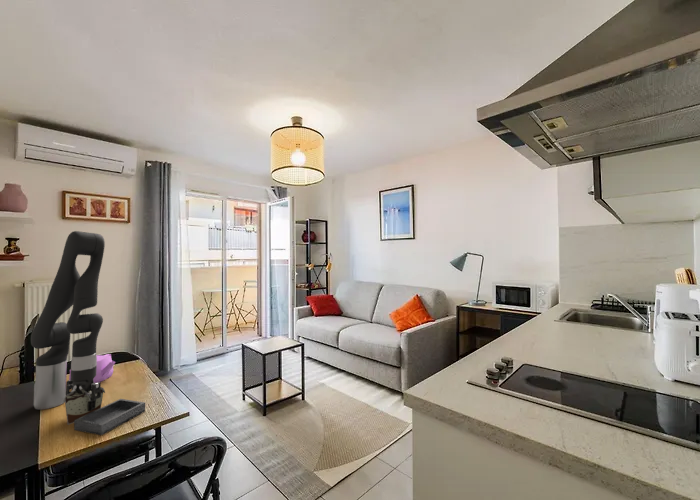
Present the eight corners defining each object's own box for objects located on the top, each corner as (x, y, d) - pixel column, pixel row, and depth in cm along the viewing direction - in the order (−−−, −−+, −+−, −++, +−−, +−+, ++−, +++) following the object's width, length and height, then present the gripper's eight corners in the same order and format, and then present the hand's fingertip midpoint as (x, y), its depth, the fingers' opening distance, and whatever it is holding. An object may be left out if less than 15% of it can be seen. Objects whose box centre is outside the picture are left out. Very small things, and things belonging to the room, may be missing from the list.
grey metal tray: (74, 430, 109) (74, 420, 109) (120, 407, 126) (120, 398, 126) (101, 435, 106) (101, 425, 106) (145, 411, 123) (145, 402, 123)
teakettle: (111, 371, 164) (111, 347, 164) (115, 380, 152) (116, 355, 152) (67, 379, 152) (68, 354, 153) (68, 391, 140) (69, 363, 140)
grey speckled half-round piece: (100, 408, 125) (101, 383, 125) (104, 413, 121) (105, 387, 121) (59, 420, 115) (60, 393, 115) (62, 426, 111) (62, 398, 111)
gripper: (58, 367, 116) (57, 411, 116) (87, 371, 113) (86, 416, 113) (80, 361, 124) (79, 401, 123) (108, 364, 120) (107, 406, 120)
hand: (82, 408), depth 118 cm, fingers open, 8 cm apart
